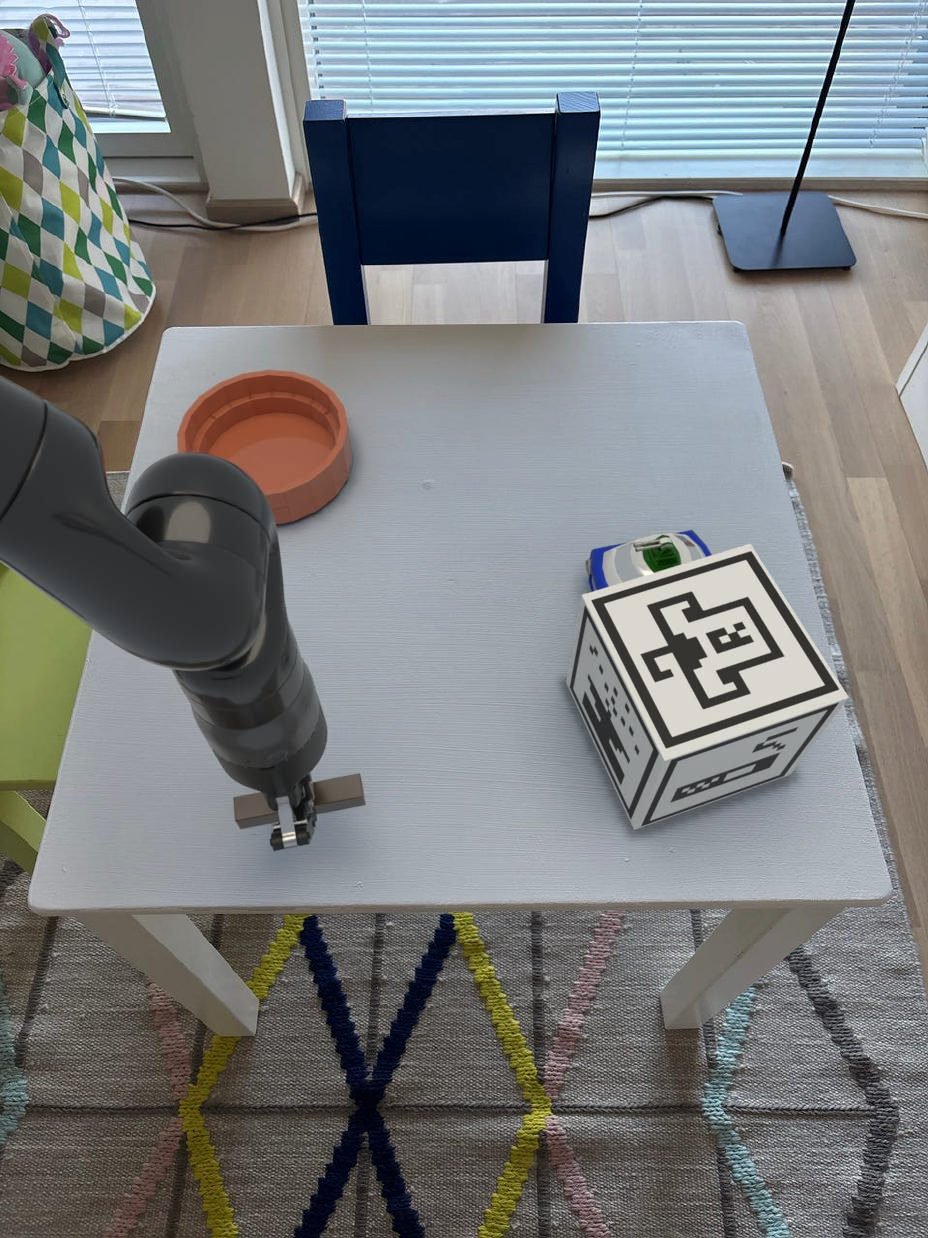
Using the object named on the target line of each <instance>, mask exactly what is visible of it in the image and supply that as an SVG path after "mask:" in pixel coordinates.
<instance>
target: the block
mask: <svg viewBox="0 0 928 1238" xmlns="http://www.w3.org/2000/svg"><path fill="white" fill-rule="evenodd" d="M576 619H577V620H576V626H575V631H574V637H573V643H572V648H571V654H570V660H569V663H568V664H569V665H568V671H567V675H566V676H567V677H566V682H565V683H566V686H567V688H568V690H569V693H570V695H571V697H572V699H573V701H574V703H575V705H576V708H577V710H578V712H579V714H580V716H581V718H582V721H583V723H584V725H585V727H586V729H587V732H588V733H589V736H590V738H591V740H592V742H593V744H594V746H595V749H596V751H597V753H598V755H599V757H600V760H601V762H602V765H603V766H604V768H605V771H606V772H607V773H606V774H607V775H608V777H609V779H610V781H611V783H612V786H613V788H614V790H615V791H616V794H617V796H618V799H619V801H620V803H621V805H622V807H623V809H624V812H625V814H626V816H627V818H628V820H629V822H630V825H631V827H632V829H633V831H635V830H639V829H641V828H645V827H647V826H650V825H653V824H656V823H658V822H662V821H664V820H667V819H669V818H672V817H675V816H678V815H681V814H683V813H686V812H690V811H692V810H695V809H698V808H702V807H704V806H707V805H709V804H712V803H715V802H717V801H721V800H723V799H726V798H729V797H732V796H734V795H735V796H736V795H737V794H740V793H742V792H743V793H744V792H745V791H748V790H752V789H754V788H757V787H760V786H763V785H766V784H769V783H771V782H775V781H777V780H779V779H783V778H785V777H788V776H791V774H793V772H794V771H795V769H796V768H797V766H798V765H799V764H800V763H801V761H802V760H803V759H804V757H805V756H806V755H807V753H808V752H809V751H810V749H812V747H813V746H814V744H815V743H816V742H817V740H818V739H819V738H820V736H821V735H822V734H823V732H825V730H826V729H827V727H828V726H829V725H830V723H831V722H832V721H833V719H835V717H836V715H838V713H839V712H840V711H841V709H842V708H843V706H844V705H845V704H846V703H847V701H848V700H849V699H850V697H849V695H848V694H847V692H846V691H845V688H844V687H843V686H842V684H841V683H840V681H839V680H838V679H837V678H838V677H836V675H835V673H834V672H833V670H832V669H831V667H830V665H829V664H828V662H827V661H826V659H825V658H824V656H823V655H822V653H821V652H820V649H818V647H817V645H816V644H815V642H814V640H813V639H812V637H811V636H810V634H809V633H808V631H807V630H806V628H805V627H804V625H803V623H802V622H801V620H800V618H799V617H798V616H797V614H796V612H795V611H794V610H793V608H792V606H791V604H790V603H789V602H788V600H787V598H786V597H785V595H784V594H783V592H782V591H781V589H780V587H779V586H778V584H777V583H776V581H775V580H774V578H773V577H772V575H771V574H770V572H769V570H768V568H767V567H766V565H765V564H764V562H763V561H762V559H761V558H760V557H759V555H758V553H757V552H756V550H755V549H754V547H753V545H752V544H751V543H747V544H744V545H741V546H738V547H734V548H731V549H728V550H725V551H721V552H718V553H715V554H712V555H711V556H708V557H705V558H701V559H698V560H695V561H692V562H688V563H685V564H682V565H679V566H675V567H672V568H669V569H665V570H662V571H659V572H656V573H652V574H649V575H646V576H643V577H639V578H636V579H633V580H629V581H626V582H623V583H620V584H616V585H613V586H610V587H607V588H603V589H600V590H597V591H593V592H591V591H589V592H588V593H584V594H581V597H580V603H579V608H578V615H577V618H576Z"/></svg>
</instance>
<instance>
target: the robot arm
mask: <svg viewBox="0 0 928 1238" xmlns="http://www.w3.org/2000/svg"><path fill="white" fill-rule="evenodd" d="M105 460H106V459H105V454H104V450H103V446H102V443H101V440H100V438H99V437H98V435H97V433H95V431H94V430H93V429H92V427H90V426H89V425H88V424H87V423H86V422H84V421H83V420H81V419H80V418H78V417H77V416H75V415H74V414H72V413H70V412H68V411H66V410H65V409H63V408H61V407H60V406H58V405H56V404H54V403H52V402H51V401H50V400H47V399H43V398H42V397H41V396H39V395H38V394H36V393H34V392H33V391H31V390H29V389H27V388H24V387H23V386H21V385H19V384H17V383H16V382H13V381H12V380H10V379H8V378H6V377H4V376H3V375H1V374H0V563H1V564H3V565H4V566H5V567H7V568H8V569H9V570H11V571H13V572H14V573H15V574H17V575H18V576H19V577H21V578H22V579H23V580H25V581H26V582H27V583H29V584H30V585H31V586H32V587H34V588H36V590H39V592H41V593H42V594H44V595H45V596H47V597H48V598H50V599H51V600H53V601H54V602H55V603H57V604H59V605H60V606H61V607H63V608H64V609H65V610H67V611H68V612H69V613H70V614H72V615H74V616H75V617H76V618H77V619H78V620H80V621H81V622H83V623H84V624H85V625H86V626H88V627H90V628H91V629H92V630H94V631H95V632H96V633H98V634H99V635H101V636H102V637H103V638H104V639H106V640H108V641H109V642H111V643H112V644H114V645H115V646H117V647H118V648H120V649H121V650H123V651H125V652H127V653H128V654H130V655H132V656H134V657H136V658H139V659H140V660H143V661H145V662H147V663H150V664H153V665H156V666H159V667H163V668H166V669H171V672H172V673H173V676H174V679H175V680H176V682H177V683H178V685H179V687H180V689H181V690H182V692H183V693H184V695H185V697H186V698H187V700H188V702H189V704H190V707H191V711H192V715H193V718H194V720H195V722H196V725H197V726H198V729H199V730H200V732H201V734H202V735H203V738H204V739H205V741H206V742H207V744H208V746H209V747H210V749H211V750H212V753H213V754H214V756H215V757H216V759H217V761H218V763H219V764H220V766H221V768H222V769H223V771H224V772H225V773H226V775H228V777H230V778H231V779H232V780H234V781H235V782H236V783H238V784H239V785H241V786H244V787H246V788H249V789H252V790H254V791H257V792H262V795H263V797H264V799H265V801H266V803H267V806H268V807H269V808H270V809H271V810H272V811H275V812H277V813H278V814H279V820H280V822H276V823H271V830H272V831H271V833H270V838H269V845H270V847H271V848H272V850H273V852H277V851H282V850H287V849H292V848H298V847H301V846H307V845H310V844H311V842H312V839H313V837H314V834H315V828H316V826H317V825H316V824H317V822H318V814H317V813H316V810H315V808H314V802H313V799H314V798H315V797H314V788H313V782H314V781H313V775H312V771H313V770H314V769H315V768H316V766H318V764H319V762H320V761H321V759H322V758H323V756H324V753H325V750H326V747H327V742H328V724H327V721H326V717H325V714H324V710H323V708H322V703H321V701H320V697H319V694H318V690H317V688H316V685H315V681H314V677H313V675H312V673H311V670H310V668H309V666H308V664H307V663H306V661H305V660H304V658H303V656H302V654H301V651H300V647H299V645H298V641H297V637H296V634H295V633H294V630H293V628H292V627H293V626H292V625H291V622H290V620H289V617H288V611H287V606H286V605H287V604H286V599H285V585H284V584H285V583H284V575H283V574H284V573H283V565H282V556H281V547H280V539H279V534H278V528H277V524H276V522H275V518H274V514H273V511H272V508H271V506H270V503H269V501H268V499H267V497H266V496H265V494H264V492H263V491H262V490H261V488H260V487H259V486H258V484H257V483H256V482H255V481H254V480H253V478H252V477H251V476H249V475H248V474H247V473H246V472H245V471H244V470H242V469H241V468H240V467H238V466H237V465H235V464H233V463H231V462H230V461H228V460H225V459H223V458H221V457H218V456H215V455H211V454H206V453H199V452H184V453H178V452H176V453H174V454H171V455H167V456H165V457H163V458H161V459H159V460H157V461H155V462H153V464H150V466H147V468H146V469H145V470H144V471H143V472H142V473H141V475H140V476H139V477H138V478H137V480H136V481H135V482H134V484H133V486H132V488H131V490H130V493H129V495H128V498H127V501H126V504H125V509H124V513H123V512H122V511H121V510H120V509H119V508H118V506H117V504H116V503H115V501H114V499H113V497H112V494H111V491H110V488H109V483H108V475H107V470H106V461H105Z"/></svg>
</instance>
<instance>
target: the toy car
mask: <svg viewBox="0 0 928 1238" xmlns="http://www.w3.org/2000/svg"><path fill="white" fill-rule="evenodd" d="M711 555H713V554H712V553H711V550H710V549H709V547H708V546H707V544H706V543H705V542H704V541H703V540H702V539H701V538H700V537H699V536H698V534H697V533H696V532H695V531H694V529H689V530H684V531H679V532H662V533H654V534H649V535H645V536H642V537H639V538H635V539H632V540H630V541H627V542H622V543H617V544H611V545H606V546H601V547H597V548H593V549H591V550H590V555H589V559H585V564H584V565H585V570H586V574H588V585H589V589H590V592H593V591H597V590H600V589H603V588H607V587H610V586H613V585H616V584H620V583H623V582H626V581H629V580H633V579H636V578H639V577H643V576H646V575H649V574H652V573H656V572H659V571H662V570H665V569H669V568H672V567H675V566H679V565H682V564H685V563H688V562H692V561H695V560H698V559H701V558H705V557H708V556H711Z"/></svg>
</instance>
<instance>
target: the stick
mask: <svg viewBox="0 0 928 1238" xmlns="http://www.w3.org/2000/svg"><path fill="white" fill-rule="evenodd" d="M313 788H314V797H315V798H314V799H313V802H314V808H315V810H316V813H317V815H322V814H327V813H333V812H338V811H343V810H348V809H353V808H354V809H355V808H358V807H363V806H366V797H365V790H364V784H363V780H362V775H361V773H354V774H349V775H343V776H338V777H333V778H327V779H323V780H317V781H313ZM232 800H233V811H234V813H233V814H234V821H235V823H236V825H237V826H238V828H239V829H240V830H245V829H251V828H255V827H261V826H265V825H270V824H271V825H272V824H277V823H279V822H280V820H279V814H278V813H277V812H275V811H272V810H271V809H270V808H269V807H268V806H267V803H266V801H265V799H264V797H263V795H262V792H260V791H258V792H254V793H249V794H244V795H238V796H234V797H233V799H232Z"/></svg>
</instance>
